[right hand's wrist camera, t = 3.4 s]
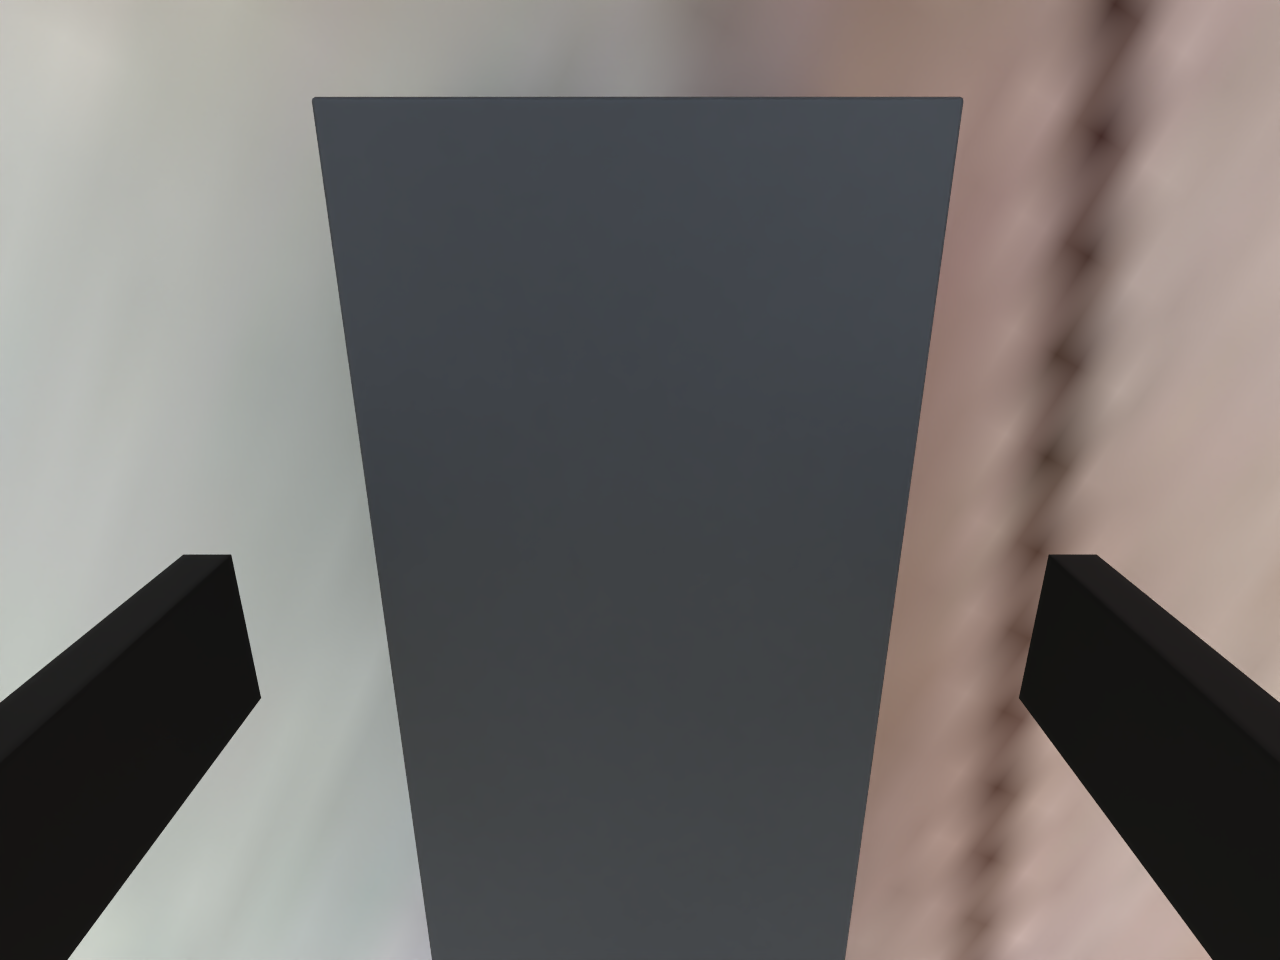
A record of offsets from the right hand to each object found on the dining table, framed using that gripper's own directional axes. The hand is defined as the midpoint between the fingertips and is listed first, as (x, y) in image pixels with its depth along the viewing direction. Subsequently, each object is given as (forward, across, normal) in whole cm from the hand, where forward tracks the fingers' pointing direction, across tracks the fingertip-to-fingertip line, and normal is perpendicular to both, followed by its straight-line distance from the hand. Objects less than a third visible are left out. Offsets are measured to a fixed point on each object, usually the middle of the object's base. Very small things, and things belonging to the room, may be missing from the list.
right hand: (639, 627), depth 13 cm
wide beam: (+10, 0, -27) cm, 29 cm away
